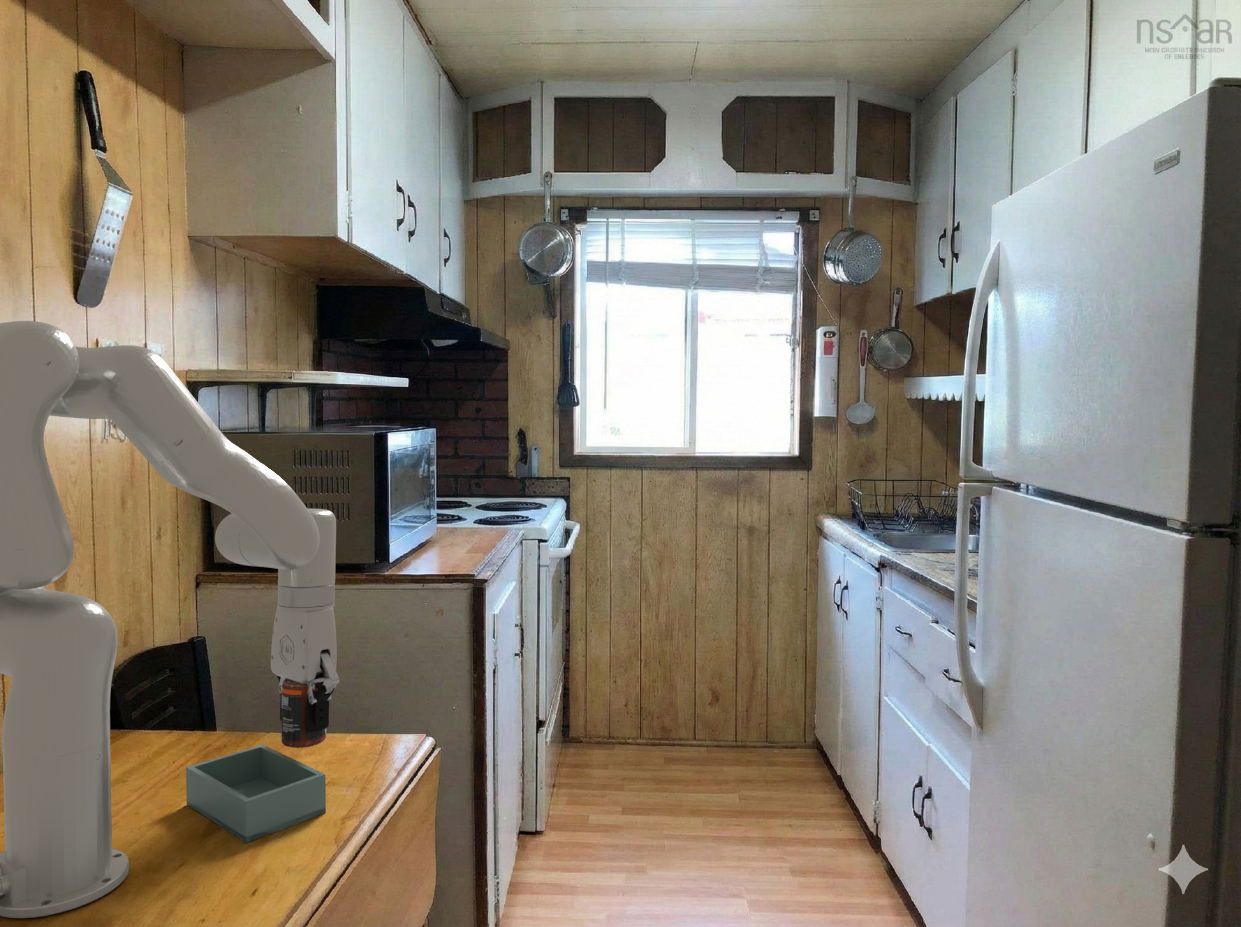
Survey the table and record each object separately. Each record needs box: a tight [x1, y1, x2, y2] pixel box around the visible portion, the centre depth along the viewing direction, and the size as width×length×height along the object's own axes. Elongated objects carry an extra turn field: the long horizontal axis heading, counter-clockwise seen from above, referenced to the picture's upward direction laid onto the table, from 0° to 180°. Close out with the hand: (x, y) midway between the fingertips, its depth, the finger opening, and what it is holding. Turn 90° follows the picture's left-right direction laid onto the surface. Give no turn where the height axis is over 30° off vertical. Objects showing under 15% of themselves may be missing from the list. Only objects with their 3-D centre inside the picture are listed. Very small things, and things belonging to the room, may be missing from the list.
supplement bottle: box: [280, 674, 327, 749], centre depth 117 cm, size 6×6×11 cm
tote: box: [185, 744, 327, 844], centre depth 108 cm, size 10×16×5 cm, turn 51°
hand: (304, 723), depth 117 cm, fingers closed on supplement bottle, 6 cm apart
